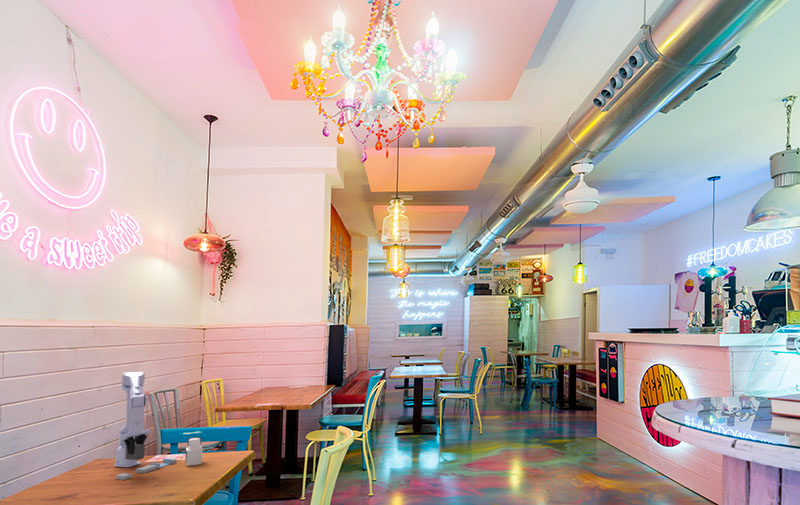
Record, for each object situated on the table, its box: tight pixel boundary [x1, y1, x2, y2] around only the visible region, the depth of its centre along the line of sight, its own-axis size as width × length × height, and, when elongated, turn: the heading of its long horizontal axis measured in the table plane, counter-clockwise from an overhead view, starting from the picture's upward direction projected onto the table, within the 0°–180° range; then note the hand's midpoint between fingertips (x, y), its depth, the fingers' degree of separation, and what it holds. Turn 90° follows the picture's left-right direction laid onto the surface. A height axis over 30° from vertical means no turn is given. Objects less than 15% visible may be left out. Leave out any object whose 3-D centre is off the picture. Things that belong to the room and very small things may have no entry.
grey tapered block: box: [125, 443, 146, 461], centre depth 225 cm, size 7×4×6 cm, turn 71°
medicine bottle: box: [185, 436, 204, 467], centre depth 241 cm, size 7×7×12 cm
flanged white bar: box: [115, 458, 177, 481], centre depth 231 cm, size 5×30×2 cm, turn 161°
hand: (134, 453), depth 225 cm, fingers closed on grey tapered block, 4 cm apart
